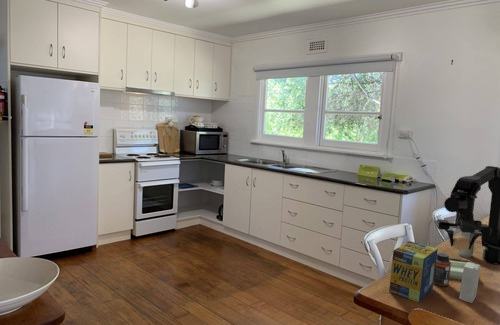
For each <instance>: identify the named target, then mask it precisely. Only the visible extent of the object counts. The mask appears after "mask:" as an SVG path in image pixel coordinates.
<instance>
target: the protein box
mask: <svg viewBox="0 0 500 325" xmlns="http://www.w3.org/2000/svg"><path fill="white" fill-rule="evenodd" d="M437 253H438V248H436V247H432V246H429V245H425V244H421V243H418V242H414V241H410V240H409V241H406V242H405V243H403V244H402V245H400V246H398V247H397V248H394V249H393V251H392V259H391V260H392V261H391V270H390V279H389V290H388V291H389V293H392V294H394V295H396V296H400V297H403V298H406V299H408V300H411V301H413V302H416V303H420V302H421V301H422V300H423V299H424V298H425V297H426V296H427V295H428V294H430V293H431V292H432V290H433V289H434V275H435V267H436V259H437Z"/></svg>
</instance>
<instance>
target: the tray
mask: <svg viewBox="0 0 500 325" xmlns="http://www.w3.org/2000/svg"><path fill="white" fill-rule="evenodd" d="M449 261H450V262H451V268H450V277H449V279H455V280H461V281H462V276H463V270H464V266H465V265H466V263H467V262H463V261H456V260H449ZM479 281H480V278H479V279H478V283H479Z"/></svg>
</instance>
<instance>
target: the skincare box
mask: <svg viewBox="0 0 500 325" xmlns="http://www.w3.org/2000/svg"><path fill="white" fill-rule="evenodd" d="M465 263H466V265H465V266H464V270H463V276H462V280H461V284H460V289H459V297H458V300H462V301H463V302H464V301H465V302H468V303H471V304H472V303H474V301H475V299H476V296H477V292H478V287H479V286H478V285H479V282H478V279H479V280H480V271H481V264H477V263H473V262H472V263H470V262H465Z"/></svg>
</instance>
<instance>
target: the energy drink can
mask: <svg viewBox="0 0 500 325" xmlns="http://www.w3.org/2000/svg"><path fill="white" fill-rule="evenodd" d="M459 232H460V233H459V236H464V237H466V238H467V239H468V240H469V237H470V233H468V232H465V233H464V232H461V230H460V231H459ZM474 247H475V242H474V243H473V245H472V246H471V248H470V249H469V248H468V249H467V250H465V251H459V250H457V253H458V255H459V256H460V257H463V258H471V257H472V256H474V249H475V248H474Z"/></svg>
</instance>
